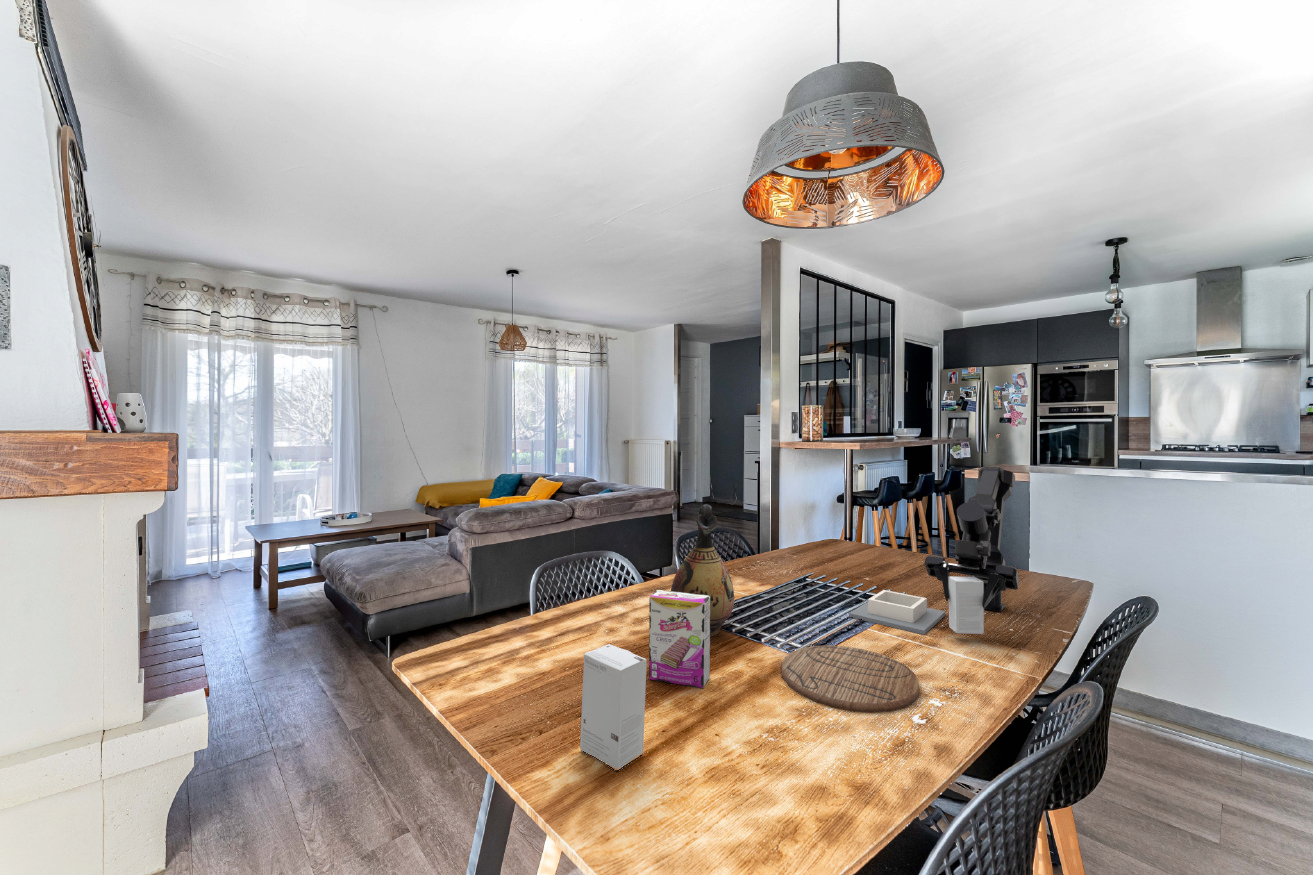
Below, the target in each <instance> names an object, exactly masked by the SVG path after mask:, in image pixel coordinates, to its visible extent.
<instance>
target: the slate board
mask: <svg viewBox="0 0 1313 875" xmlns="http://www.w3.org/2000/svg"><path fill="white" fill-rule="evenodd" d="M848 617H849V618H851V617H853V618H852V619H855V618H856V620H859V619H862V620H861V621H864V622H868V623H873V624H877V625H881V626H885V627H890V628H893V629H898V630H902V631H907V632H911V633H913V634H914V633H916V634H920V635H924V636H925V635H926V634H927V633H928V632H929V631H930V630H931V629H932V628H934V627H935V625H936V624H937V623H939V622H940V621H941V620H942V619H943V618H944V617H946V611H945V610H941V609H940V610H939V609H935V608H931V607H927V612H926V613H925V614H924V615H922V616H921V617H920V618H919V619H917V620H916V621H915V622H914V623H911V622H906V621H902V620H897V619H893V618H889V617H884V616H880V615H875V614H871V613H868V601H867V602H865V603H863V604H861V605H860V606H858V607H857V608H855V609H854V610H852V611H850V612H848Z"/></svg>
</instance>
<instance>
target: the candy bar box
mask: <svg viewBox="0 0 1313 875" xmlns="http://www.w3.org/2000/svg"><path fill="white" fill-rule="evenodd" d="M648 602H649V603H648V604H649V606H648V608H649V610H648V611H649V614H648V615H649V617H648V620H649V621H648V623H649V625H648V626H649V627H648V630H649V632H648V638H649V641H648V644H649V645H648V647H649V648H648V650H649V651H648V652H649V653H648V679H649V680H652V681H657V682H663V681H664V682H665V683H671V684H675V685H681V686H688V687H694V688H699V689H700V688H701V689H704V688H705V686H706V684H707V682H708V681H709V679H710V677H711V676H710V672H711V668H710V664H711V663H710V661H711V660H710V657H711V656H710V655H711V653H710V652H711V650H710V649H711V648H710V647H711V636H710V596H707V595H699V594H689V593H681V592H673V591H671V590H662V589H656V590H655V591H654V592H653V593H652V594H650V596H649V601H648Z"/></svg>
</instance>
